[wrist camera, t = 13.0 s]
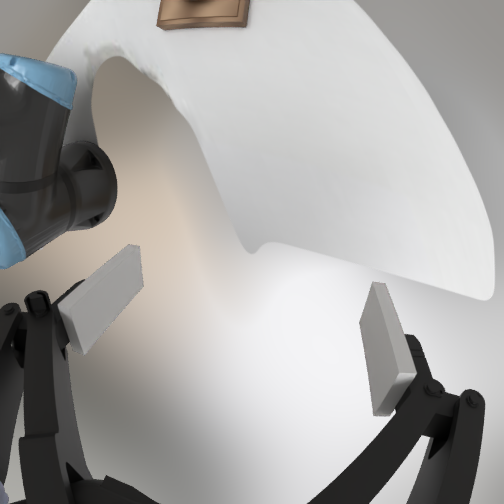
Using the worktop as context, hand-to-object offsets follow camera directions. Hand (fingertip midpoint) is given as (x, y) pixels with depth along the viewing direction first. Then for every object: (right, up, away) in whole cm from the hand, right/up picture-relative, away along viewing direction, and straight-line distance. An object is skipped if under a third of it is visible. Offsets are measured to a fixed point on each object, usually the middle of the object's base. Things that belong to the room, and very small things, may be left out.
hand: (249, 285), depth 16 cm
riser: (-6, +38, +13) cm, 41 cm away
